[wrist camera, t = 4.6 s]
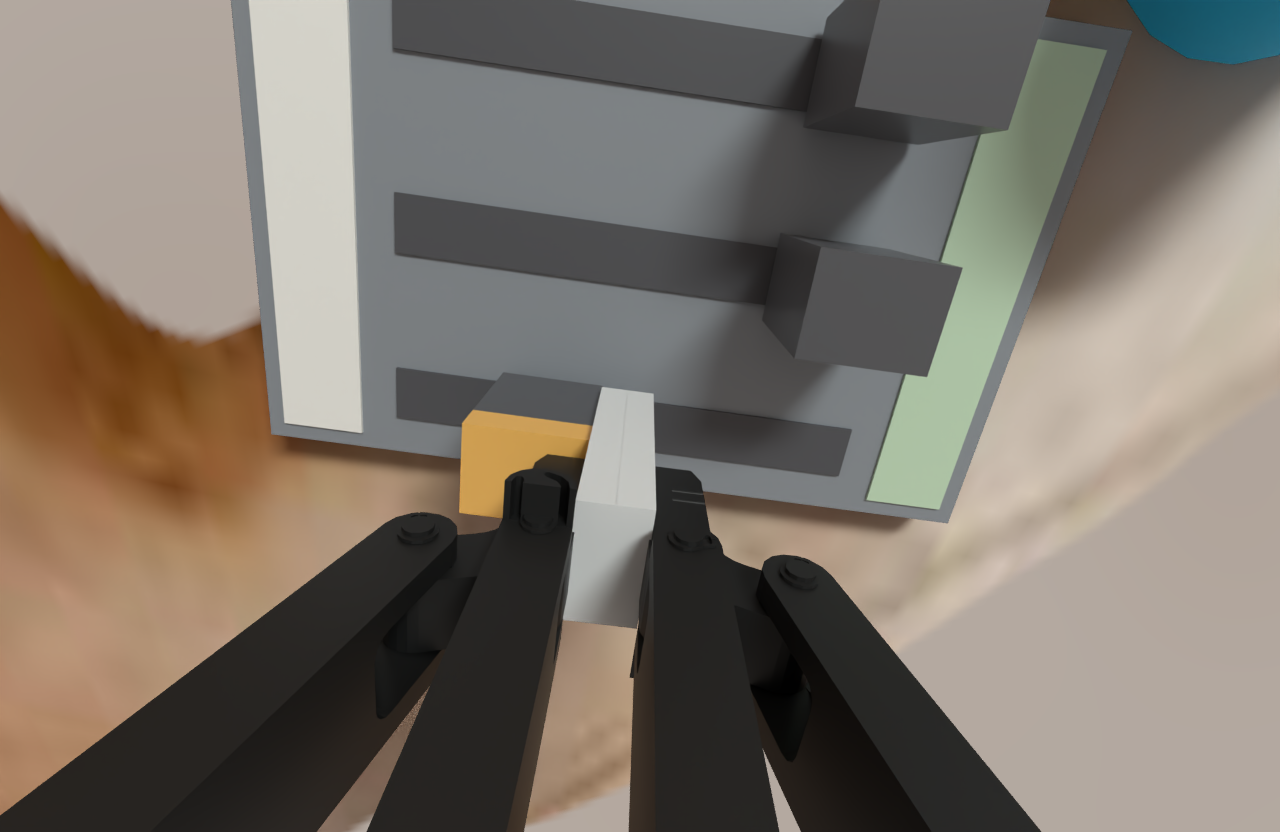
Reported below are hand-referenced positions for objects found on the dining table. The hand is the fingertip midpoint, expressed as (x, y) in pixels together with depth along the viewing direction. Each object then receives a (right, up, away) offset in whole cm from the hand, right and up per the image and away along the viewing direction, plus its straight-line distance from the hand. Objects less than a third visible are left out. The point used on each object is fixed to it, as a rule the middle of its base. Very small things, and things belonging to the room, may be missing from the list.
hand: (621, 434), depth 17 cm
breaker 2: (+6, +4, -1) cm, 7 cm away
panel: (+1, +5, +1) cm, 6 cm away
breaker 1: (+6, +9, -2) cm, 11 cm away
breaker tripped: (-2, +1, +1) cm, 3 cm away
